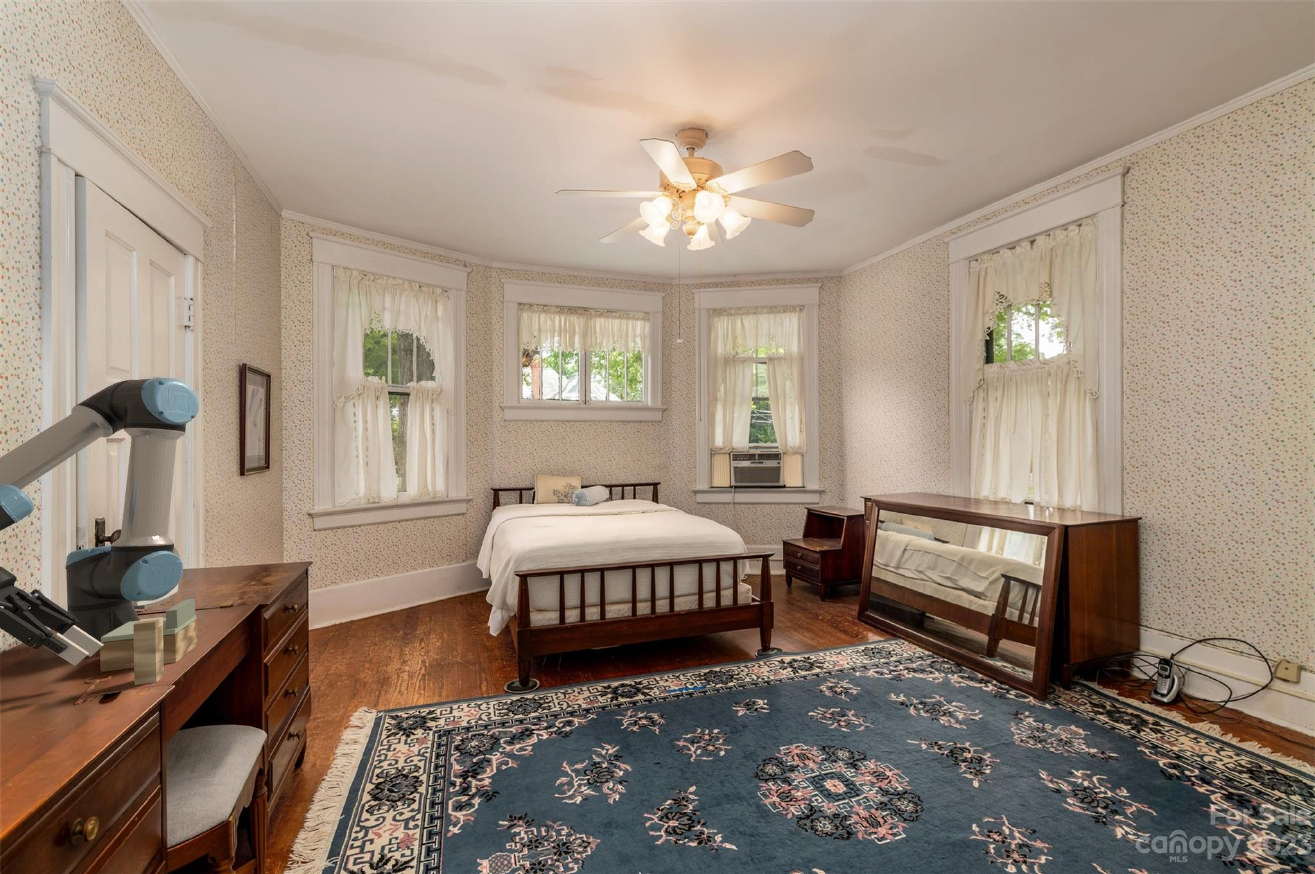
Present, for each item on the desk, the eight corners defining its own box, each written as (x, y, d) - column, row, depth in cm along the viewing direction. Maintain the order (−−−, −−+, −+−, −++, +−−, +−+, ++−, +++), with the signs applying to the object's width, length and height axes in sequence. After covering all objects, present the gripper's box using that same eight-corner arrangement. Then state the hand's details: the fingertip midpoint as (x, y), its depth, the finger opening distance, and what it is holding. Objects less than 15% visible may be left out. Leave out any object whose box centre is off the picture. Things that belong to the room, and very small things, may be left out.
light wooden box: (128, 653, 135) (128, 626, 135) (197, 644, 139) (196, 619, 139) (100, 671, 123) (100, 643, 123) (175, 662, 128) (175, 634, 128)
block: (142, 678, 119) (141, 619, 119) (163, 675, 121) (162, 617, 121) (134, 684, 116) (133, 624, 116) (156, 681, 117) (155, 621, 117)
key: (104, 703, 110) (125, 676, 122) (105, 698, 110) (126, 671, 122) (62, 709, 107) (88, 680, 119) (62, 703, 107) (88, 675, 120)
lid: (128, 626, 135) (128, 604, 135) (196, 618, 139) (196, 597, 139) (100, 642, 124) (100, 618, 124) (175, 633, 128) (175, 610, 128)
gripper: (-9, 585, 117) (97, 655, 123) (-82, 608, 101) (44, 688, 107) (25, 556, 119) (128, 626, 125) (-41, 574, 103) (81, 654, 109)
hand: (89, 654), depth 116 cm, fingers open, 4 cm apart
